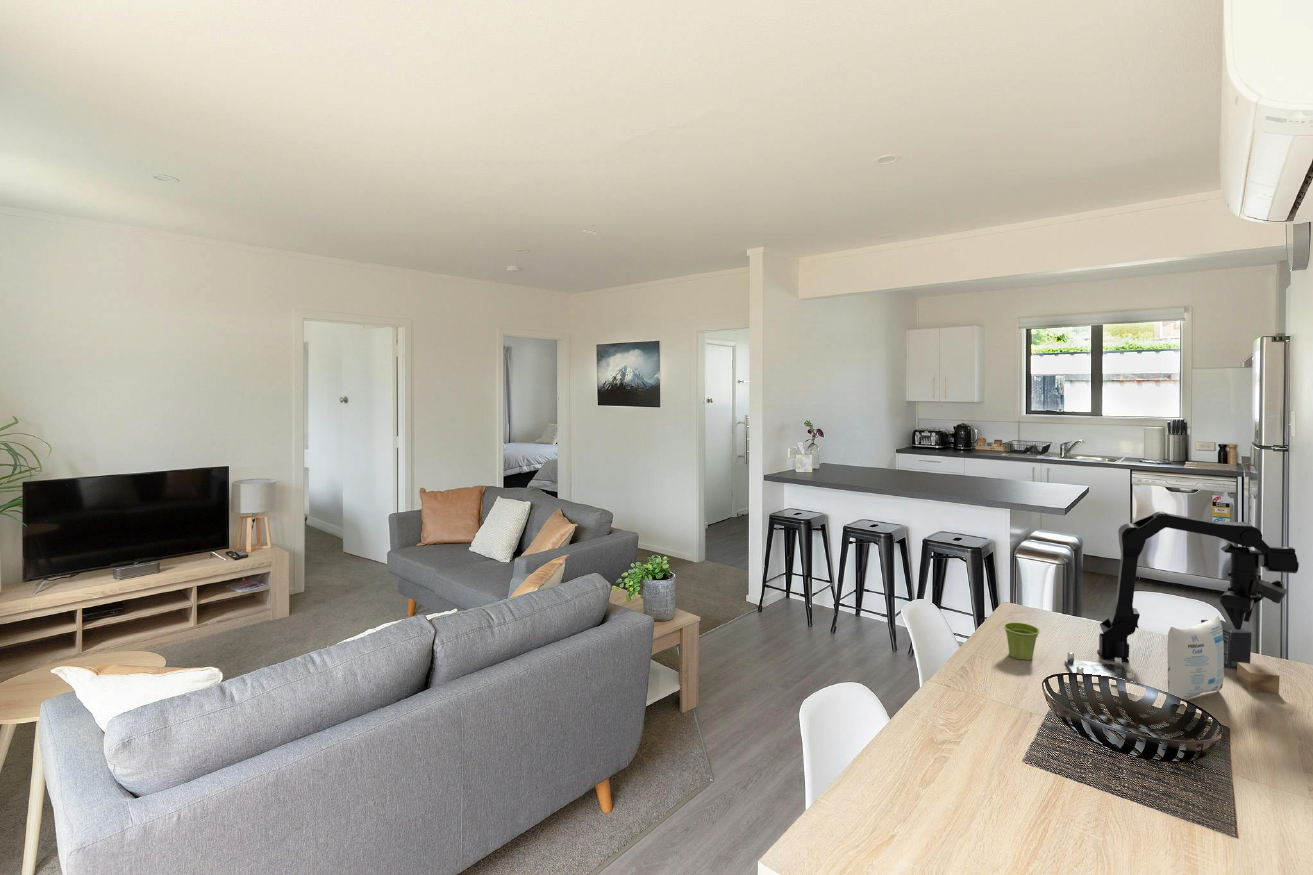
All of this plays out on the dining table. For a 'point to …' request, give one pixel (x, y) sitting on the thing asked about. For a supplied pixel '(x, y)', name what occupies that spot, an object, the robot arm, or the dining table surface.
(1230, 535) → the robot arm
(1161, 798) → the dining table surface
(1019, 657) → the plant pot
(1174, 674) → the pouch
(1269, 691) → the brown block
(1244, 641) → the small box
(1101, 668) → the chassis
